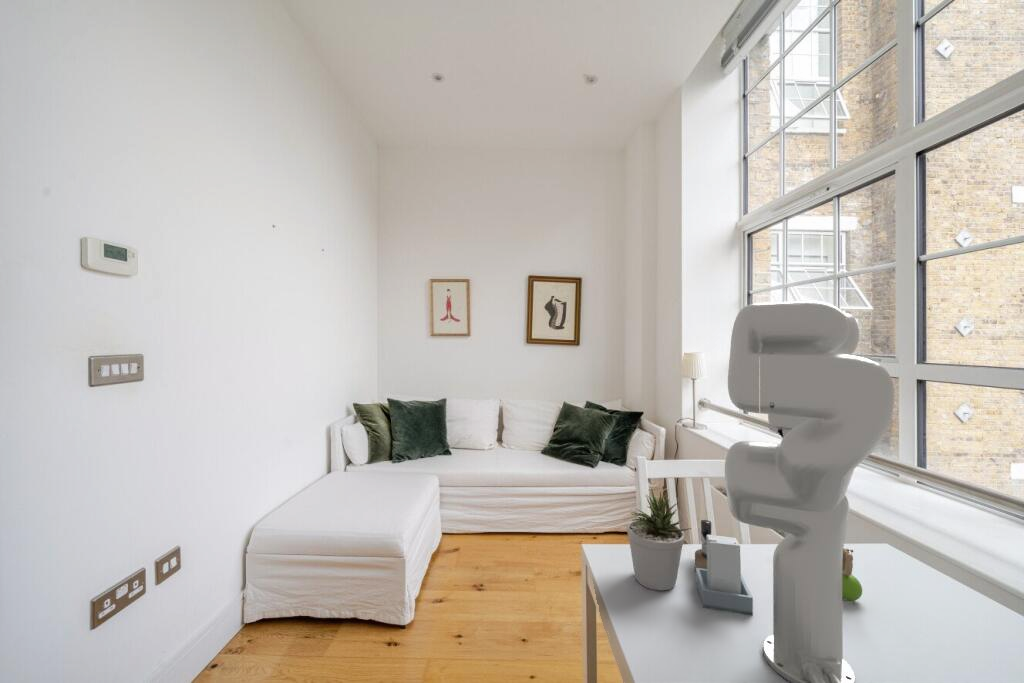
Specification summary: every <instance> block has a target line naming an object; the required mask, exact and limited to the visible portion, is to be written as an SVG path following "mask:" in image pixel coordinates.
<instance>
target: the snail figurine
mask: <svg viewBox="0 0 1024 683" xmlns="http://www.w3.org/2000/svg"><path fill="white" fill-rule="evenodd" d="M852 553H854V550H853V549H849V548H844V547H843V560H842V600H845V601H849V602H853V601H857V600H859V599H860V598H861V597H862V595H863V587H862V585H861V582H860V581H859V579H858V578H856V576H855V575H854V574H853V575H852V573H853V568H854V567H853V566H854V564H853V563H854V562H853V561H854V556H853V554H852Z"/></svg>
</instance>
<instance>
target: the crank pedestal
mask: <svg viewBox="0 0 1024 683" xmlns="http://www.w3.org/2000/svg"><path fill="white" fill-rule="evenodd" d="M696 568H702V569H707V558H705V557H704V556H703V555H702V548H700V549H697V550H696V551H695V552H694V573H696Z"/></svg>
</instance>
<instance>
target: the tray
mask: <svg viewBox="0 0 1024 683" xmlns="http://www.w3.org/2000/svg"><path fill="white" fill-rule="evenodd" d="M695 584H696V588H697V592H698V594H699V598H700V602H701V606H702V608H706V609H711V610H717V611H722V612H723V611H724V612H728V613H729V612H730V613H736V614H742V615H747V616H753V615H754V613H753V612H754V606H753V605H754V599H753V596H752V593H751V591H750V590H749V588H748V585H747V583H746V582H745V580H744V577H743V576H742V575H741V594H734V593H728V592H721V591H715V590H708V584H707V569H702V568H696V572H695Z"/></svg>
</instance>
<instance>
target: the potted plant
mask: <svg viewBox="0 0 1024 683" xmlns="http://www.w3.org/2000/svg"><path fill="white" fill-rule="evenodd" d="M664 495H665V498H664ZM651 496H652V498H651V497H650V496H649V495H647V494H646V495H645V497H646V500H647V503H648V505H649V506H648V505H647V506H646V507H647V508H648V509H650V510H651V512H652V513H650V515H648V514H647V513H646V512H644V511H642V510H640V509H639V508H636V510H637V511H638V512H634V511H631V513H632V514H631V516H632V515H633V517H637V518H635V519H632V520H631V521H630V522H628V524H627V525H626V532H627V536H628V540H629V547H630V553H631V559H632V560H631V561H632V566H633V572H634V577H635V580H637V583H639V584H640V585H641V586H644V587H645V588H647V589H650V590H654V591H668V590H671V589H672V588H674V587H675V586H676V584H677V583H676V582H677V581H678V573H679V568H680V561H681V555H682V550H683V545H684V542H685V537H686V536H685V531H688V530H689V531H690V530H691V529H692V527H689V528H684V529H683V528H682V529H681V528H680V527H678V526H677V525H679V524H680V522H682V520H683V518H681V519H680V520H678V521H677V522H673V523H671V519H672V518H673V516H674V514H676V511H677V509H675V510H674V511H673V512H672V509H673V508H674V507H675V506H677V505H678V504H679V503H680V502H679V501H678V502H676V503H675V504H674V505H672V506H671V507H670V505H669V503H668V502H669V501H670V500H669V499H668V491H666V494H665V492H663V494H662V491H661V490H660V492H659V499H657V497H656V496H655V494H654V491H653V487H651ZM666 507H667V508H668V510H667V511H666V512H665V510H666Z"/></svg>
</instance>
